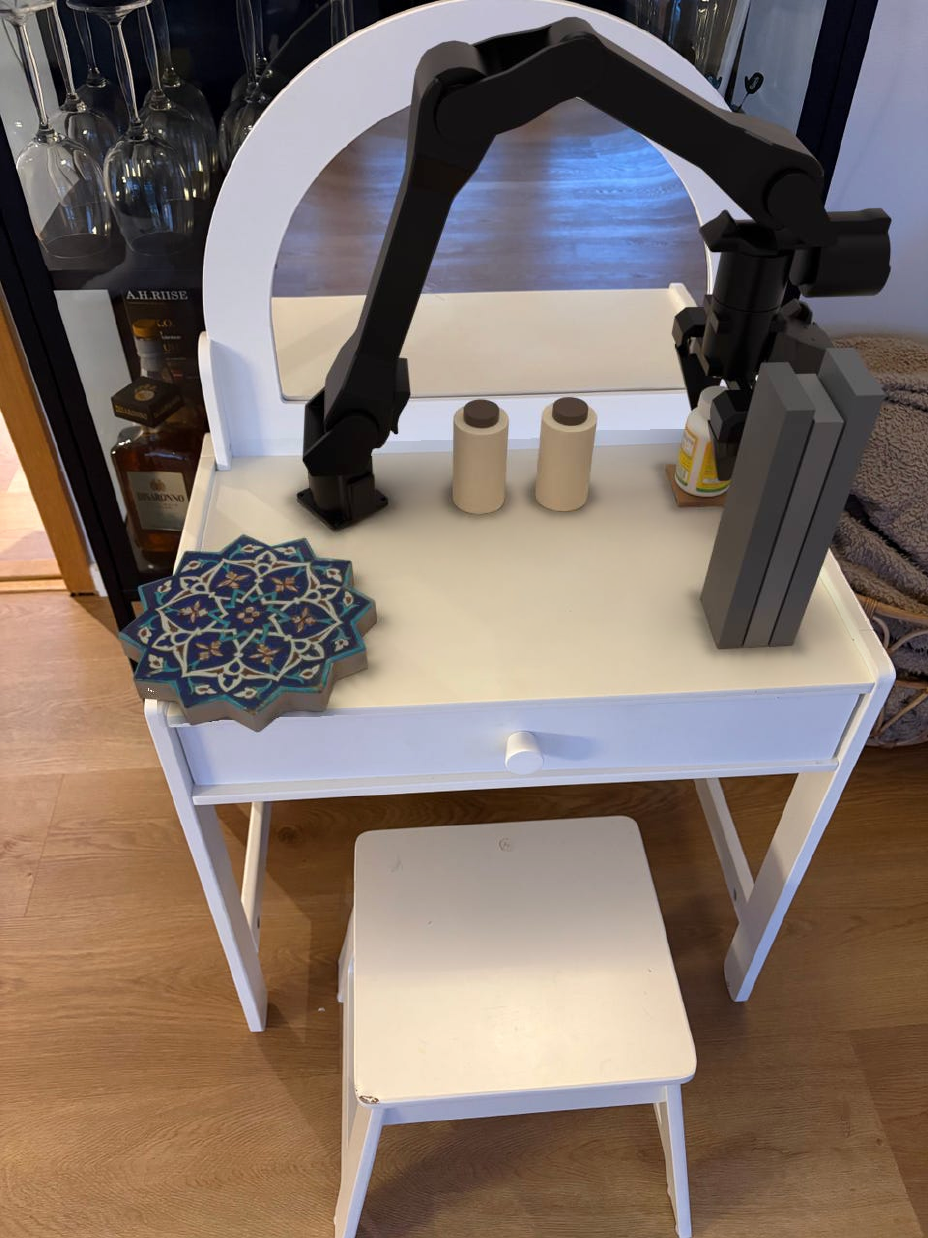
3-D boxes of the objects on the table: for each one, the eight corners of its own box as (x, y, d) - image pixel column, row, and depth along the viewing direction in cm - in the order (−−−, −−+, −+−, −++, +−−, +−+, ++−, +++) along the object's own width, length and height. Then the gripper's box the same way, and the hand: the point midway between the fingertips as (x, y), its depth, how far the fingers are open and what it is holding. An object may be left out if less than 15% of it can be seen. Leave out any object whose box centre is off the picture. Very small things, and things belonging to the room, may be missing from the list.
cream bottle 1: (441, 495, 94) (441, 406, 87) (480, 475, 97) (483, 387, 90) (476, 521, 92) (479, 431, 85) (515, 499, 94) (521, 410, 87)
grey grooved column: (793, 645, 81) (886, 394, 64) (717, 648, 81) (790, 397, 64) (771, 595, 85) (854, 347, 68) (699, 598, 85) (764, 349, 68)
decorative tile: (103, 596, 84) (96, 576, 82) (322, 529, 90) (319, 509, 88) (165, 769, 71) (158, 750, 70) (413, 677, 78) (412, 657, 76)
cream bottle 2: (524, 493, 95) (531, 404, 88) (561, 472, 97) (570, 384, 90) (560, 518, 92) (570, 428, 85) (597, 497, 95) (610, 408, 88)
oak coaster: (678, 506, 94) (679, 502, 93) (665, 469, 98) (666, 464, 98) (740, 504, 94) (741, 499, 94) (724, 467, 98) (725, 462, 98)
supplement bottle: (664, 485, 95) (681, 399, 88) (689, 458, 98) (707, 374, 91) (715, 506, 93) (736, 420, 86) (739, 478, 96) (761, 393, 89)
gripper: (882, 351, 76) (826, 509, 87) (806, 244, 89) (765, 394, 100) (741, 355, 75) (702, 513, 86) (685, 246, 88) (658, 396, 99)
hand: (711, 450), depth 93 cm, fingers open, 9 cm apart
